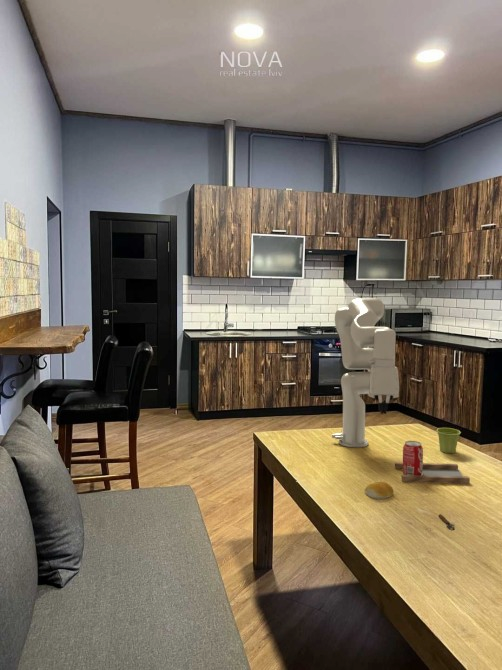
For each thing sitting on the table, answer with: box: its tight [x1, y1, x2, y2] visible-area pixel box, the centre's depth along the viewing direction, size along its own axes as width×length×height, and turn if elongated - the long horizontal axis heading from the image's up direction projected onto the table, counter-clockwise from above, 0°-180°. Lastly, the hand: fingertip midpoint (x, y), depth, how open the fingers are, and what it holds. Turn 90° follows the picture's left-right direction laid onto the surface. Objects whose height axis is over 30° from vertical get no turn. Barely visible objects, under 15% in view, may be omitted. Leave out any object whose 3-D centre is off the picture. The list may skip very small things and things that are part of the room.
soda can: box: [402, 440, 424, 475], centre depth 187 cm, size 7×7×12 cm
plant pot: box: [436, 427, 462, 454], centre depth 214 cm, size 9×9×9 cm
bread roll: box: [364, 481, 394, 500], centre depth 171 cm, size 8×9×4 cm
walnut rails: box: [394, 462, 471, 485], centre depth 187 cm, size 23×14×2 cm, turn 86°
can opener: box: [438, 514, 456, 531], centre depth 150 cm, size 9×2×1 cm, turn 179°
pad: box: [422, 469, 464, 476], centre depth 187 cm, size 14×11×1 cm
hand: (383, 412), depth 186 cm, fingers closed
